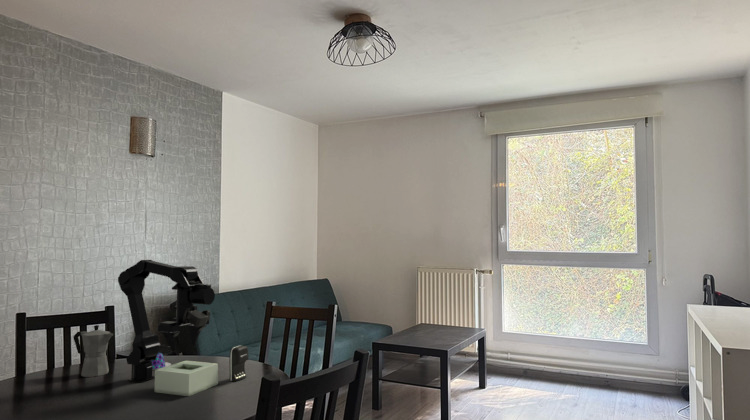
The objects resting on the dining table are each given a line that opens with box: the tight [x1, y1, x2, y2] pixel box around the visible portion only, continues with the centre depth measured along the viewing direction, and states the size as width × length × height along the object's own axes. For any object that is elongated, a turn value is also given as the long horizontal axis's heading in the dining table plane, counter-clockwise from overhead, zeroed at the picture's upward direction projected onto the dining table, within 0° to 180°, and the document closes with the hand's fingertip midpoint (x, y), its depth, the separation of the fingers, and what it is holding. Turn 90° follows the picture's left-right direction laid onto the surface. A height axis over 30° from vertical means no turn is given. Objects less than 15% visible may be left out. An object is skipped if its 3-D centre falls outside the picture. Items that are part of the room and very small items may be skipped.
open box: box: [154, 360, 219, 397], centre depth 167 cm, size 14×14×7 cm
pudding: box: [152, 352, 172, 371], centre depth 196 cm, size 12×12×5 cm
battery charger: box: [229, 345, 249, 382], centre depth 178 cm, size 7×4×11 cm, turn 159°
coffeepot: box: [73, 324, 114, 378], centre depth 187 cm, size 15×9×18 cm, turn 85°
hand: (183, 348), depth 172 cm, fingers open, 9 cm apart
